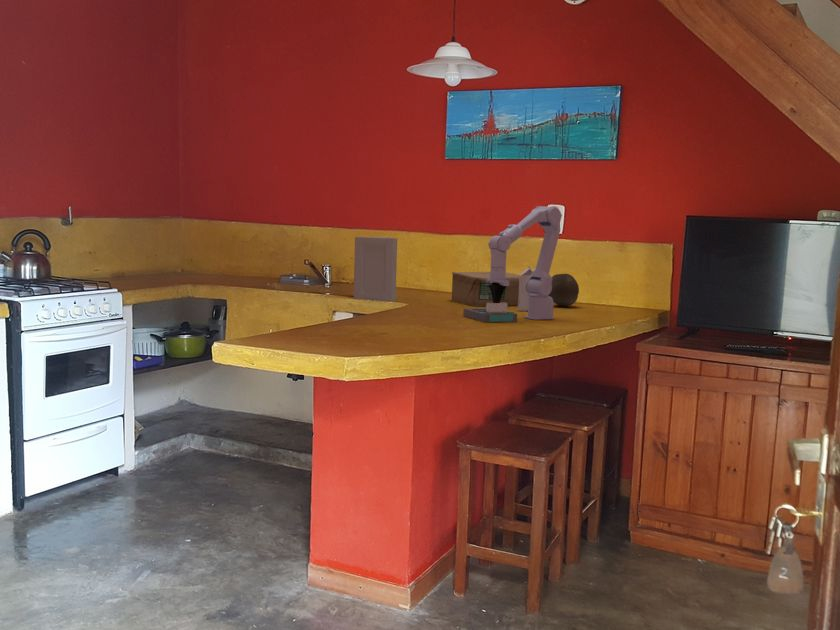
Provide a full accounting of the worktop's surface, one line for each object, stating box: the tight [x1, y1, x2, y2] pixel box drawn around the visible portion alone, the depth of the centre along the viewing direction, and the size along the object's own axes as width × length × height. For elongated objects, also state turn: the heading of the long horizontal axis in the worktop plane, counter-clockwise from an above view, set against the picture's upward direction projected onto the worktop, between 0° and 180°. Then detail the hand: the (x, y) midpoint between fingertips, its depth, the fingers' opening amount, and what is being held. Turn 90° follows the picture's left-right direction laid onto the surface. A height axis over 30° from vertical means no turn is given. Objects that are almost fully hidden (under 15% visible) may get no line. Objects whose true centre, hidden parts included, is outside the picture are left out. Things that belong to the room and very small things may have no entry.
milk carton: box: [517, 265, 535, 312], centre depth 347 cm, size 7×7×19 cm
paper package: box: [451, 271, 520, 308], centre depth 370 cm, size 27×26×14 cm
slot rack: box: [462, 307, 518, 323], centre depth 315 cm, size 14×18×3 cm
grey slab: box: [485, 303, 508, 314], centre depth 311 cm, size 8×2×7 cm, turn 113°
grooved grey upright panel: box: [353, 236, 398, 302], centre depth 374 cm, size 19×15×28 cm
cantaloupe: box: [549, 273, 580, 308], centre depth 366 cm, size 14×14×15 cm
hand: (496, 303), depth 310 cm, fingers closed, pressing on grey slab
